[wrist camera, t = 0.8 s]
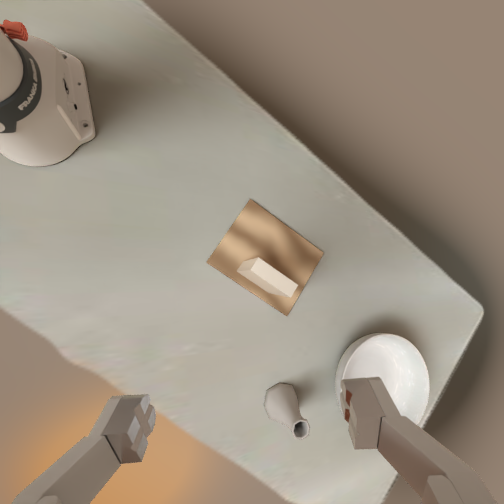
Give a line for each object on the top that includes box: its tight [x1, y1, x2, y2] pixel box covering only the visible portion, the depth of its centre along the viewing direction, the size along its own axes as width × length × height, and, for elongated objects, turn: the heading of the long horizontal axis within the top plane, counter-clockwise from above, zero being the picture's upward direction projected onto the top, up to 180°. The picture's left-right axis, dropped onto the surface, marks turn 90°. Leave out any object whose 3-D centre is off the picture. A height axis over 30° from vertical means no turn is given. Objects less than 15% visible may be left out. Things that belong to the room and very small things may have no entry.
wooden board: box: [207, 199, 323, 316], centre depth 54 cm, size 16×20×1 cm
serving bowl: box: [335, 333, 430, 425], centre depth 53 cm, size 21×21×7 cm
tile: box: [237, 257, 298, 298], centre depth 46 cm, size 2×8×12 cm, turn 57°
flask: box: [264, 383, 310, 440], centre depth 47 cm, size 7×7×10 cm
